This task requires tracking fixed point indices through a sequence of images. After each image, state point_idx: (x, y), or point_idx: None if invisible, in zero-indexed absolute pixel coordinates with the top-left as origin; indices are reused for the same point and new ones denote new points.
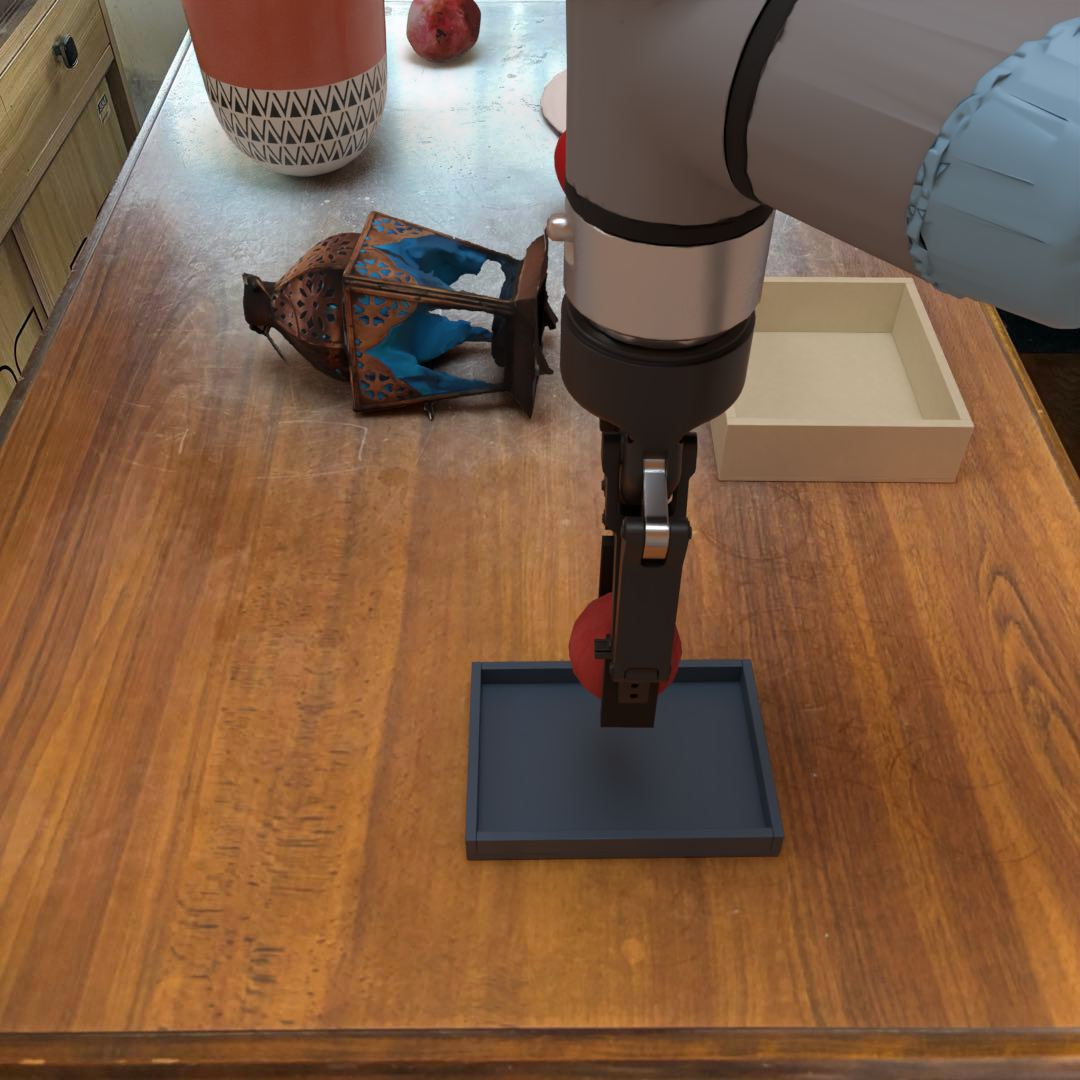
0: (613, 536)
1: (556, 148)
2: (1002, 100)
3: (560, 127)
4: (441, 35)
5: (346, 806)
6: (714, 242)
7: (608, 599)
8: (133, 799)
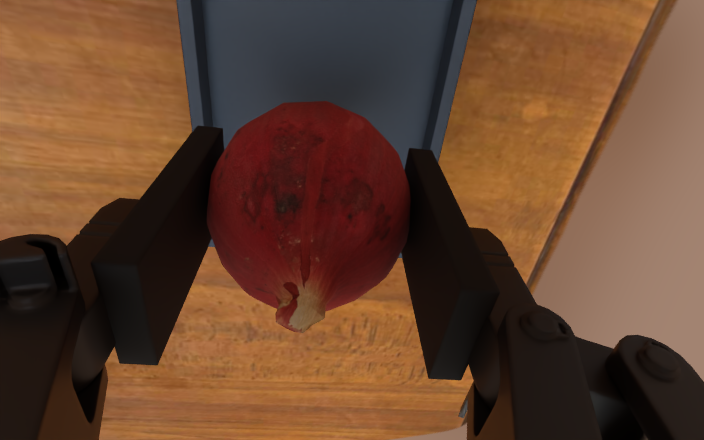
0: (117, 344)
1: None
2: None
3: None
4: None
5: (345, 311)
6: None
7: (272, 302)
8: (326, 408)
